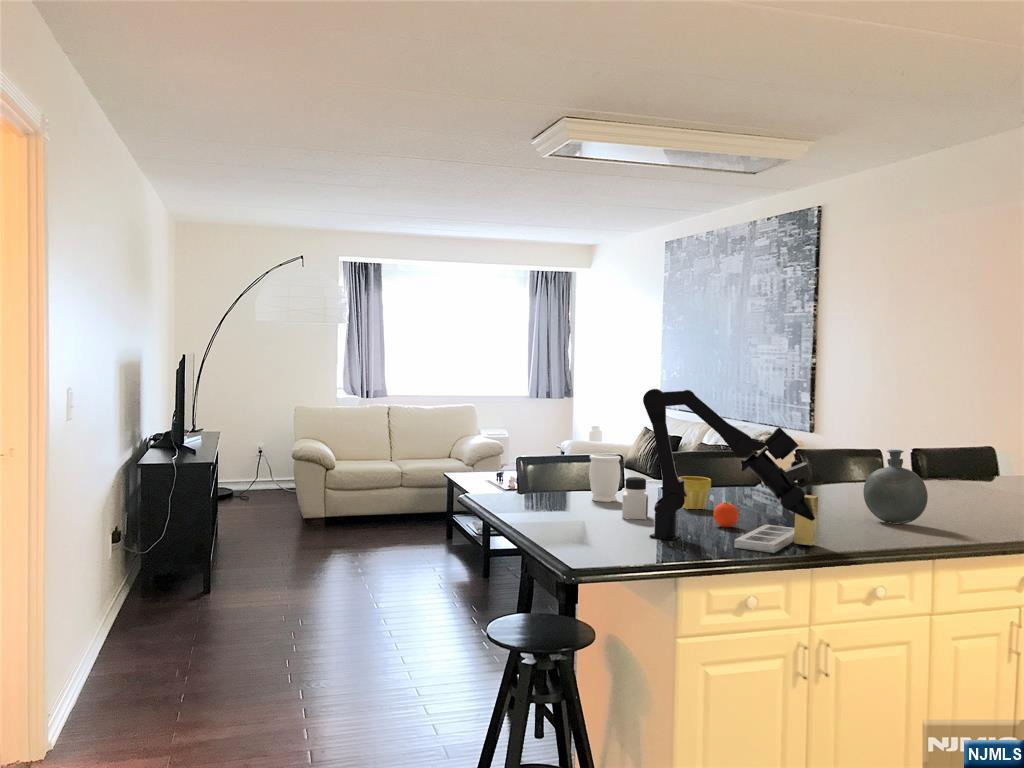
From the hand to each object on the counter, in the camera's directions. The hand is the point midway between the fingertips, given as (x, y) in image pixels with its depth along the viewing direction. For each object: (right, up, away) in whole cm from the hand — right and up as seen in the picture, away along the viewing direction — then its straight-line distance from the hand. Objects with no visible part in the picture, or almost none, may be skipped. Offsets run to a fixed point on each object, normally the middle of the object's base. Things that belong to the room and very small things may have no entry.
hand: (811, 517), depth 217 cm
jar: (-46, -5, +68) cm, 82 cm away
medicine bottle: (-40, -6, +36) cm, 54 cm away
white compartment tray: (-9, -7, +5) cm, 13 cm away
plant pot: (-19, -6, +55) cm, 58 cm away
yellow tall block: (-2, -7, 0) cm, 7 cm away
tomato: (-16, -7, +24) cm, 30 cm away
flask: (+36, -7, +34) cm, 51 cm away
